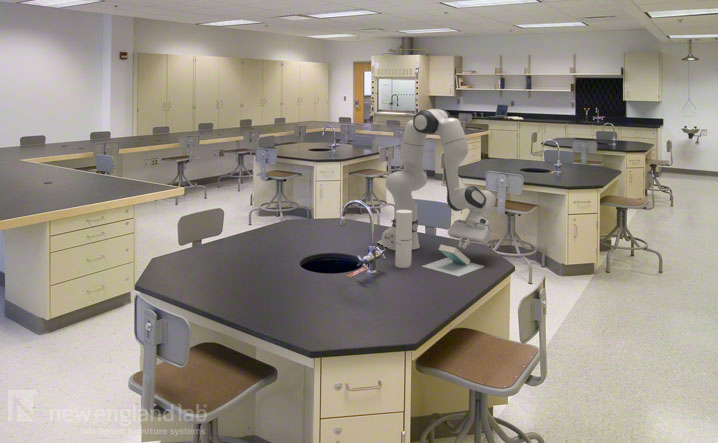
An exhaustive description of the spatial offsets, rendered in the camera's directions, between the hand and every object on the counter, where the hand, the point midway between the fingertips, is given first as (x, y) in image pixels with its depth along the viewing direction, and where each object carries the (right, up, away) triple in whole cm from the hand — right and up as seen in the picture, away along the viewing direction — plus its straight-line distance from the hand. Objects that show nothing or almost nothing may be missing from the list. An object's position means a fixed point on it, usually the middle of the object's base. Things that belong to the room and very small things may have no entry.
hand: (461, 247), depth 252 cm
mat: (-4, -9, -2) cm, 10 cm away
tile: (0, -6, +2) cm, 6 cm away
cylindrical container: (-26, -8, +1) cm, 27 cm away
